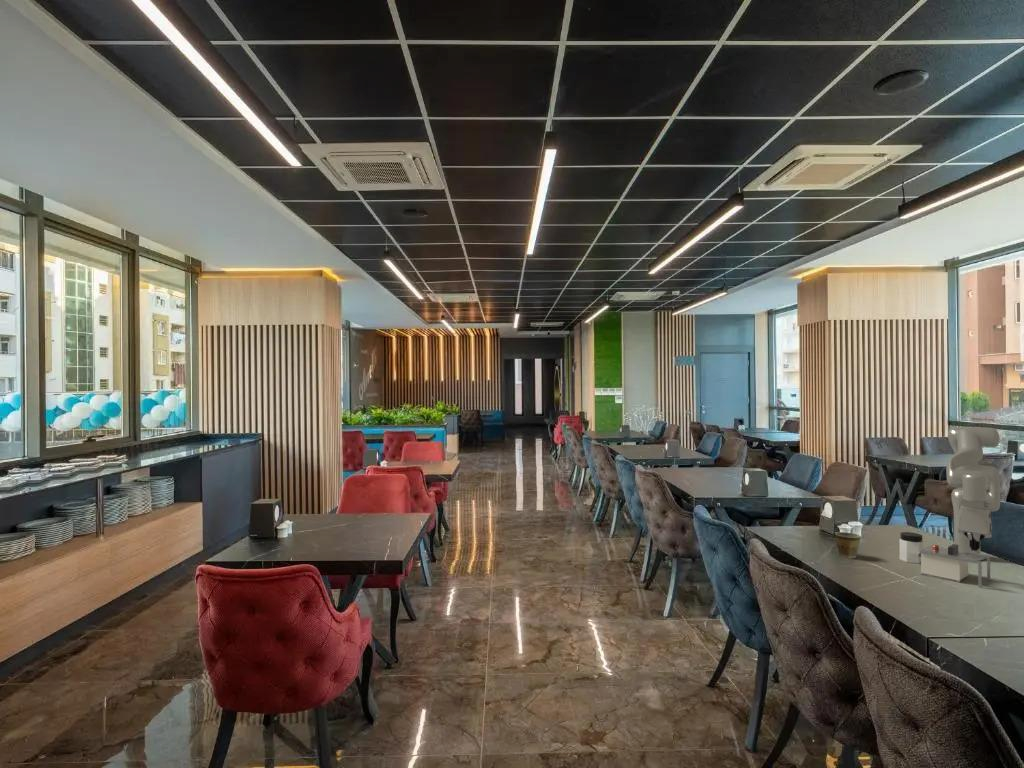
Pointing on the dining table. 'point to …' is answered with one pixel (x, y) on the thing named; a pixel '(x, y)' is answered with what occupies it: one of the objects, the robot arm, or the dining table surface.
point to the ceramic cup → (847, 544)
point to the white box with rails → (950, 566)
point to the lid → (946, 551)
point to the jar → (910, 547)
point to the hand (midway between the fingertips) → (974, 549)
